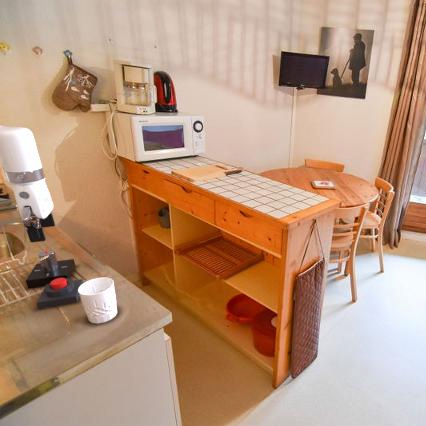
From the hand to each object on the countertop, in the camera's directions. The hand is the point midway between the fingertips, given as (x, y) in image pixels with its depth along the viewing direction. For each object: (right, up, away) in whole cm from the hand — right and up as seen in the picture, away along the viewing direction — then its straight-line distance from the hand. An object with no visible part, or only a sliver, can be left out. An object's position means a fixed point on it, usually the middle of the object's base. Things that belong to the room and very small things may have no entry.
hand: (43, 233), depth 90 cm
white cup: (+18, -23, -2) cm, 29 cm away
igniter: (+2, -19, +4) cm, 20 cm away
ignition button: (+2, -16, +3) cm, 16 cm away
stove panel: (-7, -15, +12) cm, 20 cm away
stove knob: (-7, -12, +11) cm, 18 cm away
